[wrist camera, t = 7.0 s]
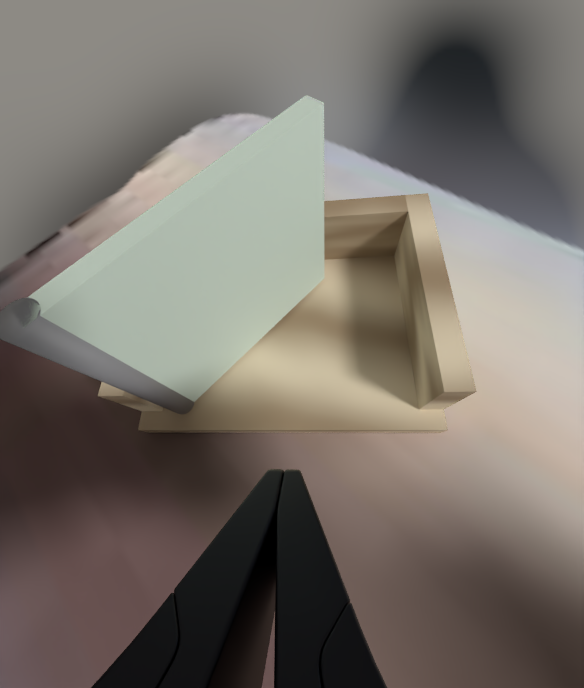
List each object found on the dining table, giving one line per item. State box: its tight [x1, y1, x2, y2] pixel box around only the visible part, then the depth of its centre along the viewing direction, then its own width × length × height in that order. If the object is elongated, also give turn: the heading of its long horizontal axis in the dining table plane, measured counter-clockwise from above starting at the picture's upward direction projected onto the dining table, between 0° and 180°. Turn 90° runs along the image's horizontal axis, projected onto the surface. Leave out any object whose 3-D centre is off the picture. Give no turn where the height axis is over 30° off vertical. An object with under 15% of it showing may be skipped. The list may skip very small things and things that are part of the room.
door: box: [0, 96, 324, 414], centre depth 13 cm, size 1×12×10 cm, turn 136°
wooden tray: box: [98, 193, 476, 433], centre depth 16 cm, size 12×16×4 cm
